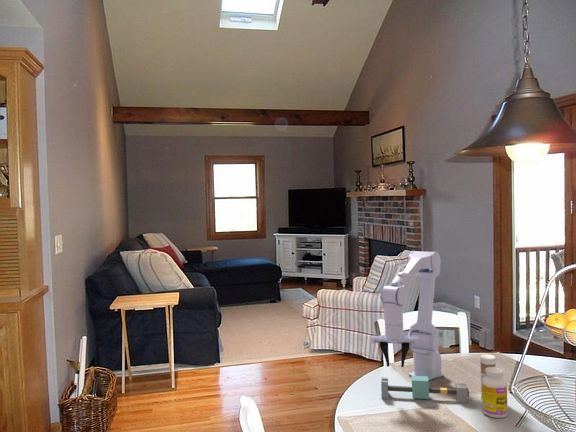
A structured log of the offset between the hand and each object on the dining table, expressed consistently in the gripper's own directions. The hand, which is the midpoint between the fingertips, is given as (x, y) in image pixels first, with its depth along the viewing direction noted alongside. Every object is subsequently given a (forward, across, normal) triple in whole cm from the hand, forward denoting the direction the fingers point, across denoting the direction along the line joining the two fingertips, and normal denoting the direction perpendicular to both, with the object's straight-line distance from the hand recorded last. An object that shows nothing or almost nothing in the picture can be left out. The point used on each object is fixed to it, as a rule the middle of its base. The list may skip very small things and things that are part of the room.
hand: (395, 365), depth 150 cm
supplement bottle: (+10, +28, -8) cm, 31 cm away
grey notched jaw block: (+10, -4, 0) cm, 11 cm away
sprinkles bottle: (+10, +28, +2) cm, 30 cm away
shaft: (+8, +9, 0) cm, 12 cm away
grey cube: (+10, +20, 0) cm, 22 cm away
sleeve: (+10, +8, 0) cm, 12 cm away
